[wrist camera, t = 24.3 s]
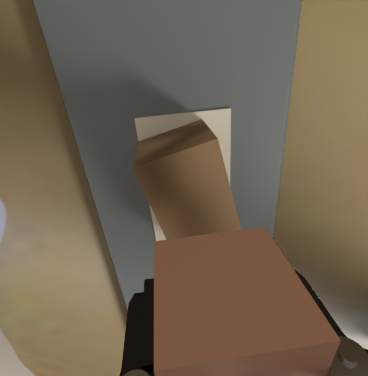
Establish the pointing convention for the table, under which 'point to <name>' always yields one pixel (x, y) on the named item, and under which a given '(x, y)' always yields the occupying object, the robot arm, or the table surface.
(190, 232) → the walnut brick
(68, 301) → the table surface
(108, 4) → the board
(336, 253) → the table surface
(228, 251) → the terracotta cube
